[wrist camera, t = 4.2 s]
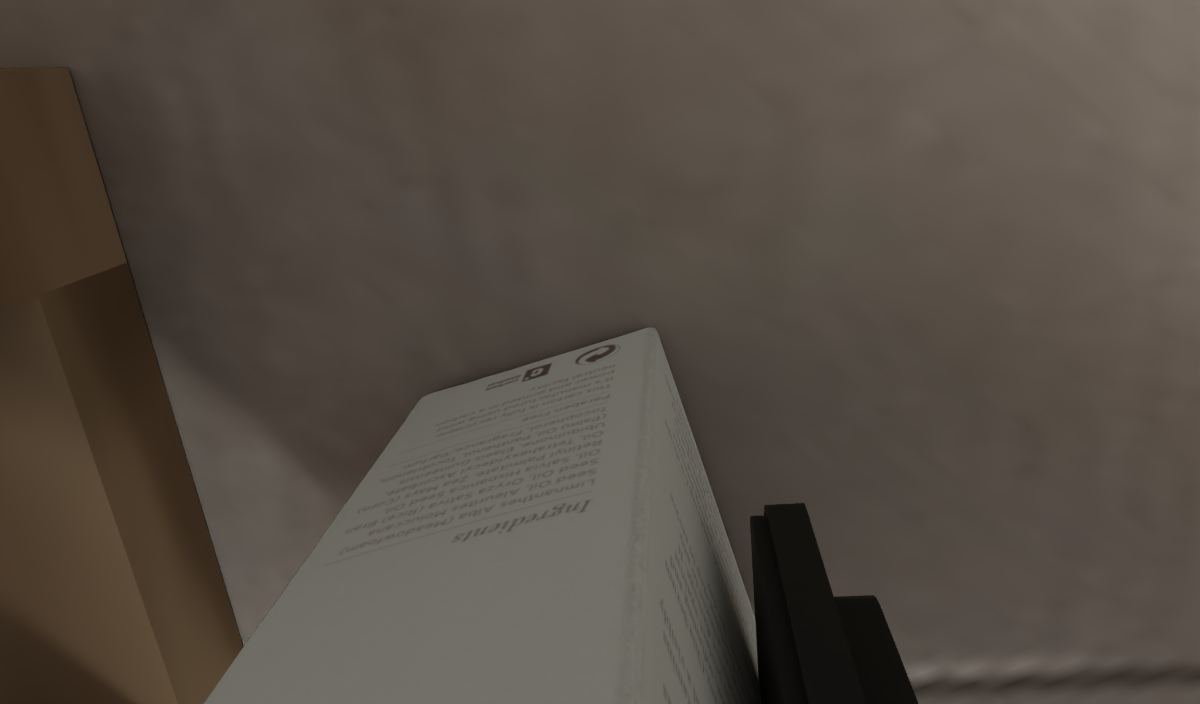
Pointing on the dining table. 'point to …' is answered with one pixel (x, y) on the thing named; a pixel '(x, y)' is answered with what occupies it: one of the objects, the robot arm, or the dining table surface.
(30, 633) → the socket
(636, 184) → the dining table surface
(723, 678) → the skincare box
